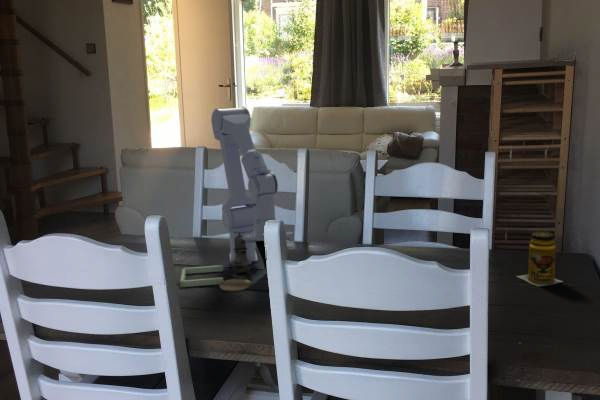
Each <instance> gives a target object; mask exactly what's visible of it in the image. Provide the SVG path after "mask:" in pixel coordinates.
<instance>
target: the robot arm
mask: <svg viewBox="0 0 600 400" xmlns="http://www.w3.org/2000/svg"><path fill="white" fill-rule="evenodd" d="M210 121H211V127H212V131H213V136H214V139H215V140H217V141H219V143H220V149H221V156H222V161H223V166H224V172H225V178H226V183H227V184H226V185H227V190H228V195H229V197H228V199H226V201H224V203H223V204H222V205H221V212H222V213H221V215H222V216H221V220H222V221H221V222H222V224H223V227H224V228H225V229H226V231H229V246H230V252H229V263H231V262H232V261H234V260H235V251H234V248H235V241H234V239H235V237H236V236H238V235H239V232H240V235H241V236H243V237H240V238H242V239H243V240H245V244H246V248H247V250H246V256H247V259H248V260H251V261H252V263H253V262H258V254H257V251H258V252H259V254H260V256H261V259H262V263H263V267H264V269H266V260H267V258H266V259H265V247H264V235H263V233H264V225H265V222H266V221H268V220H275V221H276V208H275V207H276V206H275V205H276V204H275V195H276V194H277V192H278V189H279V186H278V185H279V183H278V179H277V176H276V174H275V173H274V172H272V170H271V169H268V167H267V164H266V161H265V160H264V158H263V154H262V152H261V151H259V150H256V149H255V144H254V141H253V139H252V135H251V132H250V127H251V113H250V111H249V109H248V108H247V107H246V106H242V107H231V108H230V107H228V108H214V109H213V111H212V114H211V120H210ZM240 151H241V154H242V156H240ZM242 166H243V167H242ZM243 169H244V171H245V174H246V175H247V178H248V184H247V187H248V193H249V194H250V196H249V195H247V190H246V185H245V179H244V173H243ZM285 232H286V235H287V240H286V241H289V242H290V241H294V237H293V232H292V231H285ZM256 249H257V251H256ZM266 270H267V269H266Z"/></svg>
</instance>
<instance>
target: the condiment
mask: <svg viewBox="0 0 600 400" xmlns="http://www.w3.org/2000/svg"><path fill="white" fill-rule="evenodd" d="M530 237H531V238H530V243H529V246H528V247H529V248H528V271H527V272H528V274H522V275H516V278H518V279H521V280H524V281H525V282H527V283H529V284H532V285H534V286H536V287H544V286H550V285H555V284H559V283H563V282H564V281H563V280H560V279H557V278H556V277H555V276H556V272H555V271H556V256H557V255H556V253H557V247H556V244H555V235H554V233H552V232H547V231H536V232H533V233H531V234H530Z"/></svg>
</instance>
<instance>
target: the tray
mask: <svg viewBox="0 0 600 400" xmlns="http://www.w3.org/2000/svg"><path fill="white" fill-rule="evenodd" d="M215 272H217V273H218V272H224V264H219V265H208V266H206V265H205V266H194V267H193V266H192V267H191V266H190V267H182V270H181V274H180V281H179V285H180V288H186V287H187V288H189V287H200V286H211V285H220V283H222V282H223V281H224V277H223V276H222V277H211V278H201V279H200V278H199V279H198V278H197V279H188V280H186V276H187V275H190V274H202V273H215Z"/></svg>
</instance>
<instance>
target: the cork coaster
mask: <svg viewBox="0 0 600 400" xmlns="http://www.w3.org/2000/svg"><path fill="white" fill-rule="evenodd" d="M251 286H252V281H250V280H249V279H247V278H242V279H238V278H231V279H227V280H223V282H222V283H220V284H219V288H220V289H221V290H222V291H226V292H238V291H243V290H244V291H245V290H246V289H249V288H251Z"/></svg>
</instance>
